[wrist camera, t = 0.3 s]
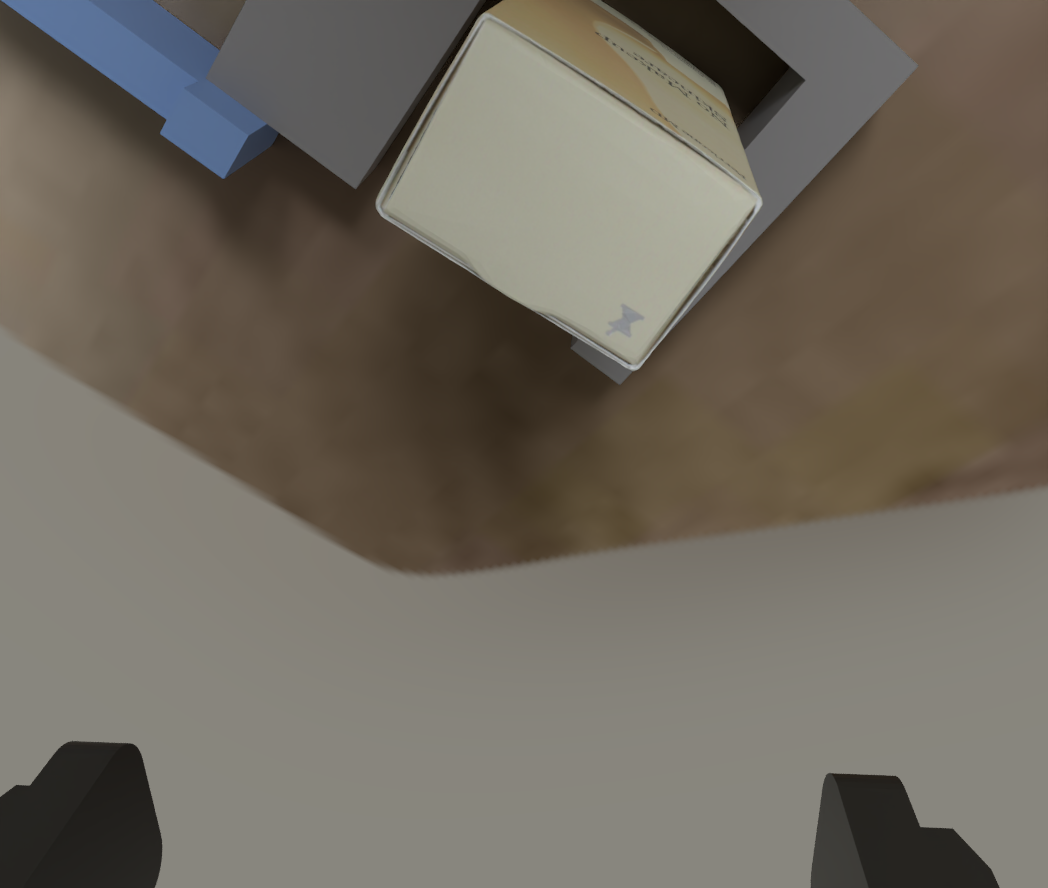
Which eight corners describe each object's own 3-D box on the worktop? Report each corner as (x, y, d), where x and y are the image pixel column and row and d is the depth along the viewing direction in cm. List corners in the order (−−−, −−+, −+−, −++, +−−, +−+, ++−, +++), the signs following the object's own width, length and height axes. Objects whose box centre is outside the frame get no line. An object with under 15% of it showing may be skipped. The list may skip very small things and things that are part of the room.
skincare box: (728, 86, 27) (789, 208, 17) (642, 210, 29) (647, 387, 19) (541, -44, 26) (479, -2, 15) (465, 95, 28) (365, 215, 17)
